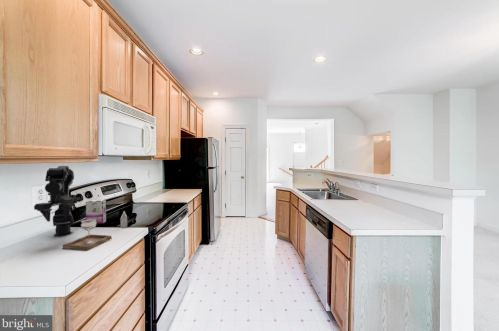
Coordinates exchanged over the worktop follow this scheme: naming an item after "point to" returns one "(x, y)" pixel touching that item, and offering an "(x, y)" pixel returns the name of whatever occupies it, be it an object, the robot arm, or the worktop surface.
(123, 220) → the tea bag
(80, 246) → the tray
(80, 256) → the worktop surface
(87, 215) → the candy bar box
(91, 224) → the wineglass
